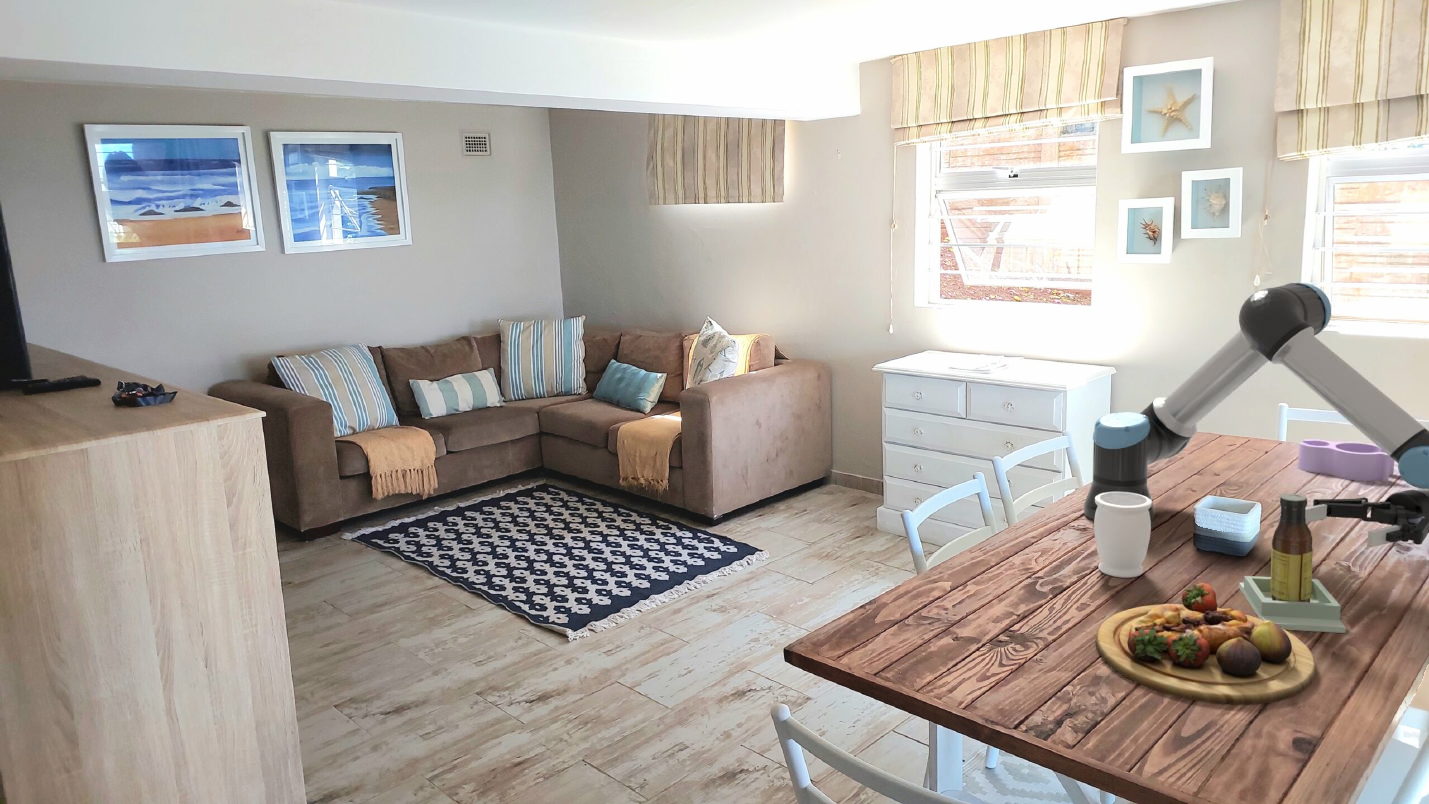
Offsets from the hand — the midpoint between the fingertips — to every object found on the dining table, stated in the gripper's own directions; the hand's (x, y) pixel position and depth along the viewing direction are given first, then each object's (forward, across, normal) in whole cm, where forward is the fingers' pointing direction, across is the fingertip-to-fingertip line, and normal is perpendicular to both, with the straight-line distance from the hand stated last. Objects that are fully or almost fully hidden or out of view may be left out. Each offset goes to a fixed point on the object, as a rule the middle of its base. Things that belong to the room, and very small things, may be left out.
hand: (1332, 527), depth 172 cm
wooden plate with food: (+36, +7, +14) cm, 40 cm away
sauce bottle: (+9, 0, +13) cm, 16 cm away
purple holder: (-73, -54, +14) cm, 92 cm away
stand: (+9, 0, +14) cm, 17 cm away
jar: (+22, -27, +14) cm, 38 cm away
